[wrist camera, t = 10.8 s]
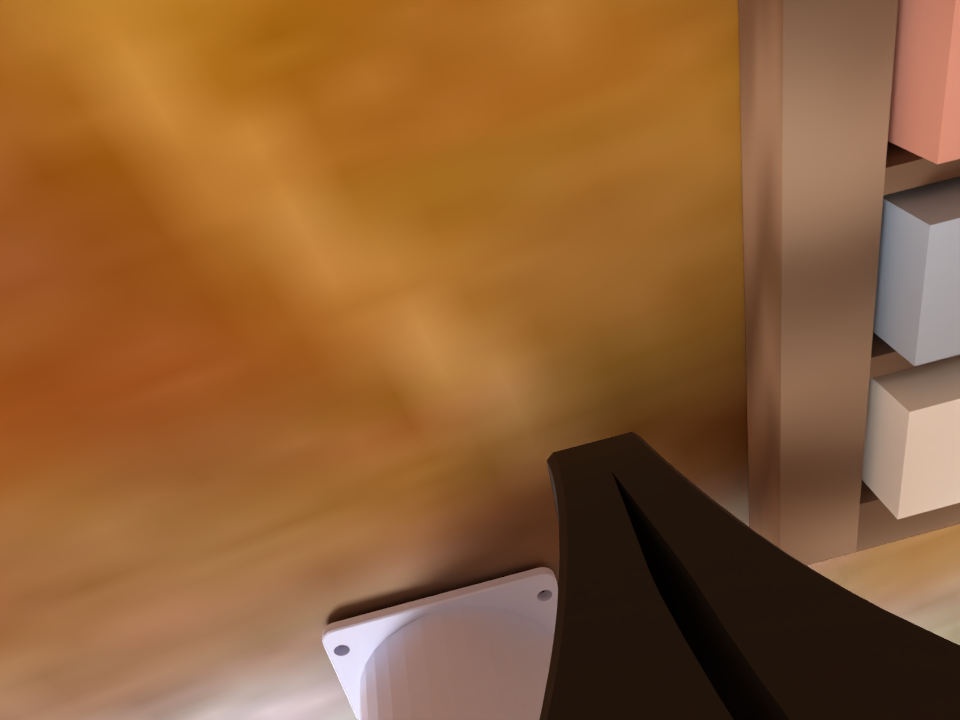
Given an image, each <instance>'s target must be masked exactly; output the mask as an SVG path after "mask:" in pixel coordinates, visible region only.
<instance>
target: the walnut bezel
mask: <svg viewBox="0 0 960 720" xmlns="http://www.w3.org/2000/svg"><path fill="white" fill-rule="evenodd" d="M738 6H739V53H740V100H741V147H742V194H743V241H744V288H745V335H746V382H747V429H748V476H749V523H750V528H751V529H752V530H754V531H755V532H757V533H758V534H759V535H761V536H762V537H764V538H765V539H767V540H768V541H770V542H771V543H773V544H774V545H776V546H777V547H778V548H780V549H781V550H783V551H784V552H786V553H787V554H789V555H790V556H792V557H794V558H795V559H797V560H798V561H800V562H801V563H803V564H804V565H810V564H814V563H817V562H821V561H825V560H828V559H832V558H836V557H839V556H843V555H847V554H850V553H854V552H858V551H861V550H865V549H869V548H872V547H876V546H880V545H884V544H887V543H891V542H895V541H898V540H902V539H906V538H909V537H913V536H917V535H920V534H924V533H928V532H931V531H935V530H939V529H942V528H946V527H950V526H954V525H957V524H960V503H957V504H953V505H949V506H946V507H942V508H938V509H935V510H931V511H927V512H923V513H920V514H916V515H912V516H909V517H905V518H901V519H897V518H896V517H895V516H894V515H893V514H892V513H891V512H890V510H889V509H888V508H887V507H886V506H885V505H884V504H883V503H882V501H881V500H880V499H879V498H878V497H877V496H876V495H875V494H874V493H873V491H872V490H871V489H870V488H869V487H868V486H867V485H866V484H865V482H864V481H863V480H862V469H863V455H864V442H865V429H866V416H867V403H868V390H869V379H871V378H874V377H878V376H882V375H886V374H890V373H893V372H897V371H901V370H905V369H909V368H912V367H916V366H914V365H912V364H911V363H910V362H909V361H908V360H906V359H905V358H904V357H903V356H902V355H900V354H899V353H898V352H897V351H896V350H894V349H893V348H892V347H891V346H890V345H888V344H887V343H886V342H885V341H884V340H882V339H881V338H880V337H879V336H878V335H876V334H875V333H874V332H873V325H874V312H875V299H876V285H877V272H878V259H879V246H880V233H881V220H882V207H883V195H887V194H891V193H895V192H899V191H903V190H907V189H911V188H915V187H919V186H923V185H927V184H931V183H934V182H938V181H942V180H946V179H950V178H954V177H958V176H960V159H957V160H953V161H949V162H945V163H941V164H935V163H933V162H931V161H929V160H927V159H925V158H922V157H920V156H918V155H916V154H914V153H912V152H910V151H908V150H906V149H903V148H901V147H899V146H897V145H895V144H893V143H891V142H889V141H888V128H889V115H890V102H891V89H892V76H893V63H894V50H895V37H896V24H897V11H898V0H738ZM959 355H960V354H959ZM955 356H958V355H955ZM951 357H954V356H951ZM951 357H948V358H951ZM944 359H947V358H944ZM940 360H943V359H940ZM936 361H939V360H936ZM932 362H935V361H932ZM929 363H931V362H929ZM925 364H928V363H925ZM921 365H924V364H921ZM917 366H920V365H917Z"/></svg>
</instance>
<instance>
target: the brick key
mask: <svg viewBox="0 0 960 720" xmlns="http://www.w3.org/2000/svg"><path fill="white" fill-rule="evenodd" d="M888 141H889V142H891V143H893V144H895V145H897V146H899V147H901V148H903V149H906V150H908V151H910V152H912V153H914V154H916V155H918V156H920V157H922V158H925V159H927V160H929V161H931V162H933V163H935V164H941V163H945V162H949V161H953V160H957V159H960V0H898V11H897V24H896V37H895V50H894V63H893V76H892V89H891V102H890V115H889V128H888Z"/></svg>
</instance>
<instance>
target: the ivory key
mask: <svg viewBox="0 0 960 720" xmlns="http://www.w3.org/2000/svg"><path fill="white" fill-rule="evenodd" d="M862 480H863V481H864V482H865V484H866V485H867V486H868V487H869V488H870V489H871V490H872V491H873V493H874V494H875V495H876V496H877V497H878V498H879V499H880V500H881V501H882V503H883V504H884V505H885V506H886V507H887V508H888V509H889V510H890V512H891V513H892V514H893V515H894V516H895V517H896V518H897V519H901V518H905V517H909V516H912V515H916V514H920V513H923V512H927V511H931V510H935V509H938V508H942V507H946V506H949V505H953V504H957V503H960V355H958V356H954V357H951V358H947V359H943V360H939V361H935V362H931V363H928V364H924V365H920V366H916V367H912V368H909V369H905V370H901V371H897V372H893V373H890V374H886V375H882V376H878V377H874V378H871V379H869V390H868V403H867V416H866V429H865V442H864V455H863V469H862Z"/></svg>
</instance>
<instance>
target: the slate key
mask: <svg viewBox="0 0 960 720" xmlns="http://www.w3.org/2000/svg"><path fill="white" fill-rule="evenodd" d="M873 332H874V333H875V334H876V335H878V336H879V337H880V338H881V339H882V340H884V341H885V342H886V343H887V344H888V345H890V346H891V347H892V348H893V349H894V350H896V351H897V352H898V353H899V354H900V355H902V356H903V357H904V358H905V359H906V360H908V361H909V362H910V363H911V364H912V365H914V366H917V365H921V364H925V363H929V362H932V361H936V360H940V359H944V358H948V357H951V356H955V355H959V354H960V176H958V177H954V178H950V179H946V180H942V181H938V182H934V183H931V184H927V185H923V186H919V187H915V188H911V189H907V190H903V191H899V192H895V193H891V194H887V195H883V207H882V220H881V233H880V246H879V259H878V272H877V285H876V299H875V312H874V325H873Z"/></svg>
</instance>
